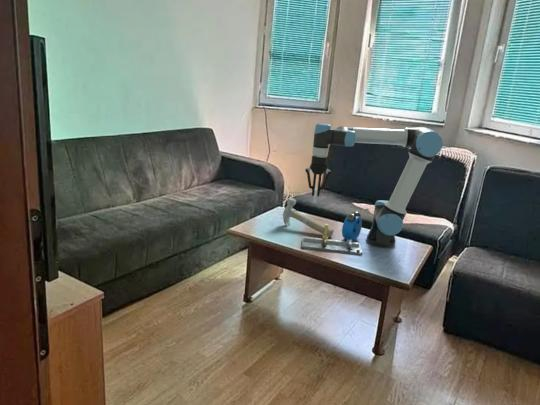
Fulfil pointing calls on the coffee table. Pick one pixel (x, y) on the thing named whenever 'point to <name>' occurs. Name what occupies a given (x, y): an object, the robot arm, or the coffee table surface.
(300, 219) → the hammer
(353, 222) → the alarm clock
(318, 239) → the bar
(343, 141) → the robot arm
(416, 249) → the coffee table surface
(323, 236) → the sliding leg
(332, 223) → the coffee table surface
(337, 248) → the bolt plate
